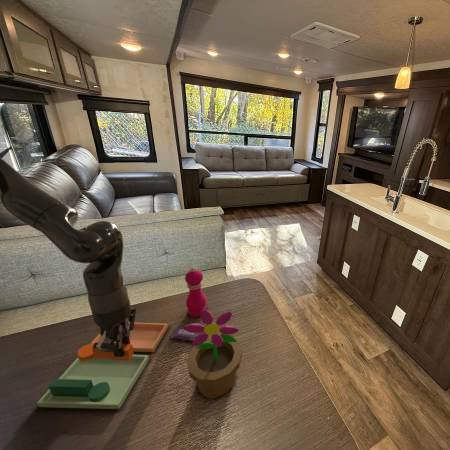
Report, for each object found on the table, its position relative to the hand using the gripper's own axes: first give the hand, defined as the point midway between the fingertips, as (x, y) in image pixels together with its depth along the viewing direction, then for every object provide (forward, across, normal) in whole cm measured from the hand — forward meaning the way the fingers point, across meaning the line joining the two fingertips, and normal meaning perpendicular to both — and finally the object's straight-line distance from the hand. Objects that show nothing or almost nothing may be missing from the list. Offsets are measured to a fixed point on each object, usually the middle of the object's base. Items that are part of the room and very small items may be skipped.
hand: (123, 351), depth 67 cm
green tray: (+10, +2, -7) cm, 12 cm away
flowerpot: (+10, 0, +25) cm, 27 cm away
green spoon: (+9, +6, -8) cm, 13 cm away
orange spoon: (+2, 0, -5) cm, 5 cm away
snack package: (+10, -14, +12) cm, 21 cm away
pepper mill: (+10, -26, +10) cm, 30 cm away
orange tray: (+10, -12, -7) cm, 17 cm away
